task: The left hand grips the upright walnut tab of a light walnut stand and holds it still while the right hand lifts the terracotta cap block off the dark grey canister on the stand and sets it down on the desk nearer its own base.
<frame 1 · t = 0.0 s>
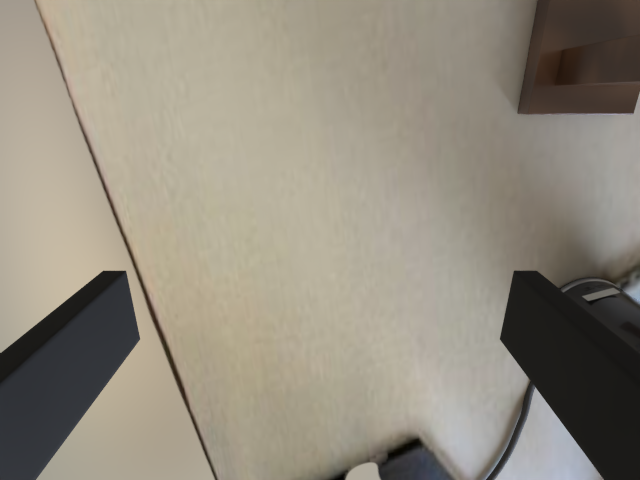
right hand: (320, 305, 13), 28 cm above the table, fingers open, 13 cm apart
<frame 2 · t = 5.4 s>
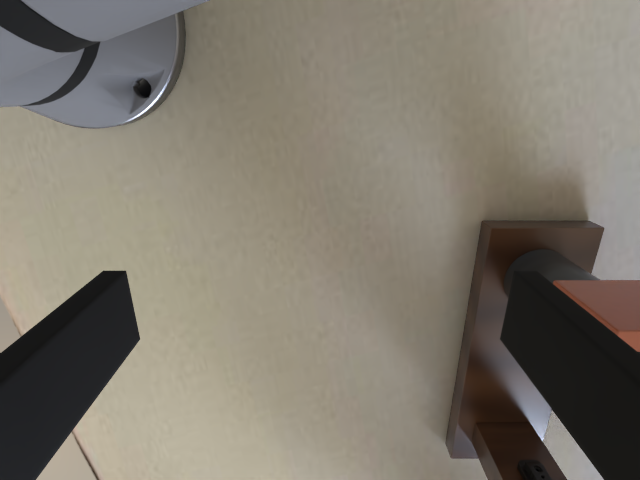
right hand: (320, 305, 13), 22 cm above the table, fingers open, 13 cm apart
terracotta cap: (595, 329, 27), point 10 cm above the table, touching walnut stand
walnut stand: (508, 346, 40), on the table, touching left hand, terracotta cap
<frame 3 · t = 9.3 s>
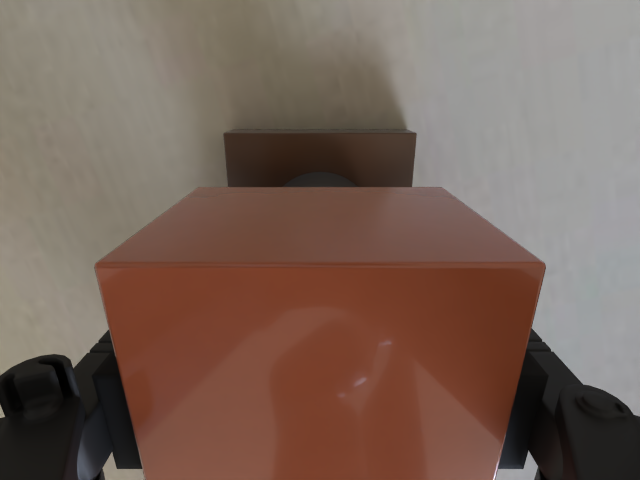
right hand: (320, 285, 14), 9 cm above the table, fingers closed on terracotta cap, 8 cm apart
terracotta cap: (320, 295, 14), point 10 cm above the table, touching right hand, walnut stand
walnut stand: (320, 337, 26), on the table, touching left hand, terracotta cap
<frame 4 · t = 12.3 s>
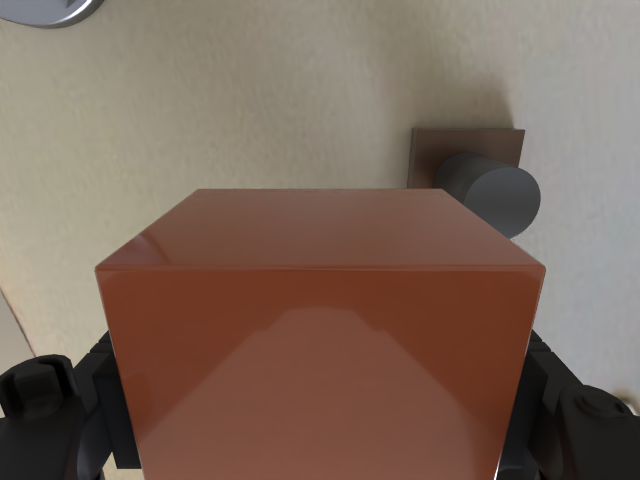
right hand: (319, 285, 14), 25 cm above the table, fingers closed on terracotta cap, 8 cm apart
terracotta cap: (320, 296, 14), point 26 cm above the table, touching right hand
walnut stand: (445, 259, 41), on the table, touching left hand
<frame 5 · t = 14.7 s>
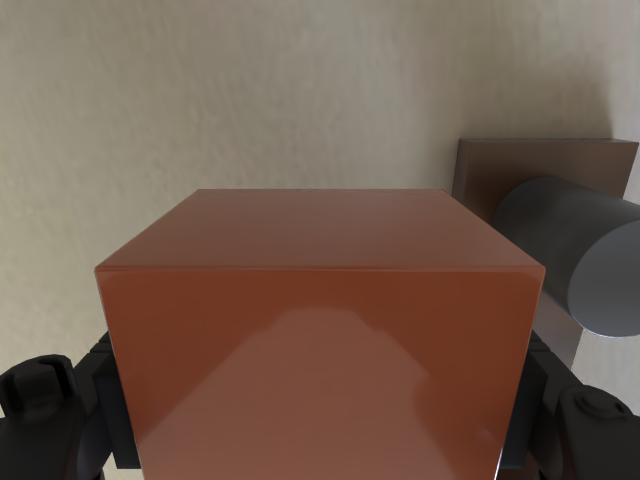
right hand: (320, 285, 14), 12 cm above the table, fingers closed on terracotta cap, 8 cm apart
terracotta cap: (320, 296, 14), point 13 cm above the table, touching right hand
walnut stand: (499, 324, 29), on the table, touching left hand
when the right hand's fingers open (2 cm above the table, at t = 17.1 s): terracotta cap drops 2 cm, on the table.
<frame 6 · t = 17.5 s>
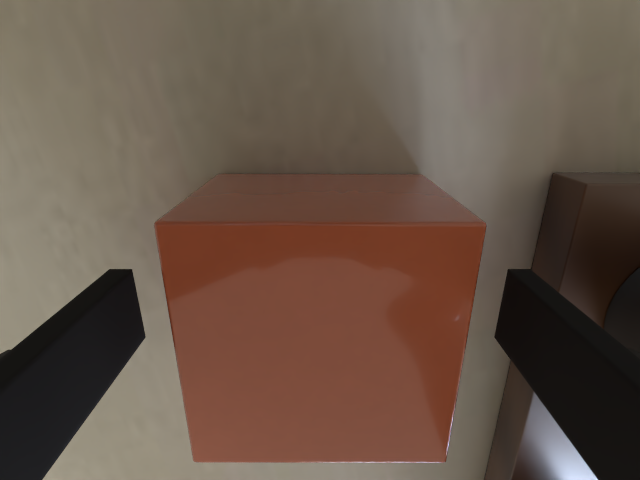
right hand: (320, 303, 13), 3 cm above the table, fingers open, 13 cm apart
terracotta cap: (319, 267, 16), on the table
walnut stand: (588, 440, 19), on the table, touching left hand
when the left hand's fingers open (7 cm above the table, at t = 19.3 s): walnut stand stays where it is, on the table.
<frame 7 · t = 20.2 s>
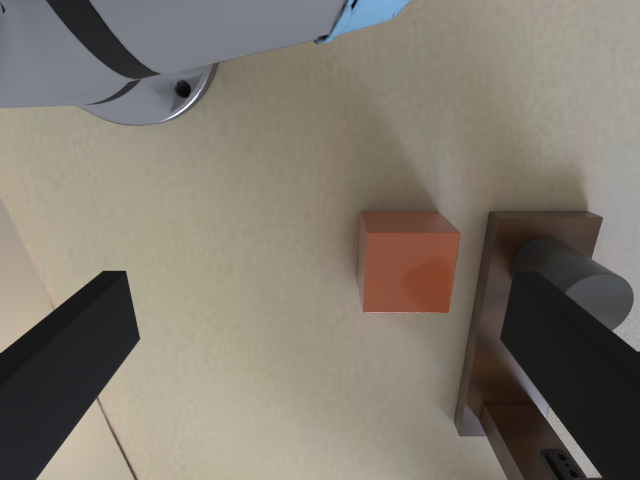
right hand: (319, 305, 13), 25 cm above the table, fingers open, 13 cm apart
terracotta cap: (396, 248, 39), on the table
walnut stand: (513, 329, 42), on the table
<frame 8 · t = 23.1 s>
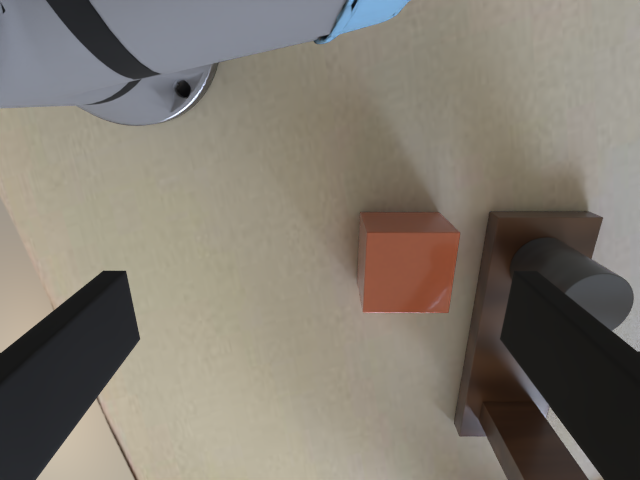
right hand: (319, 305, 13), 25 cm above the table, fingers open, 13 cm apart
terracotta cap: (396, 248, 39), on the table
walnut stand: (513, 329, 42), on the table
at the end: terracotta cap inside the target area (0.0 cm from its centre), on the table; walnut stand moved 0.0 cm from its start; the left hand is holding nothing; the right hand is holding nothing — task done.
